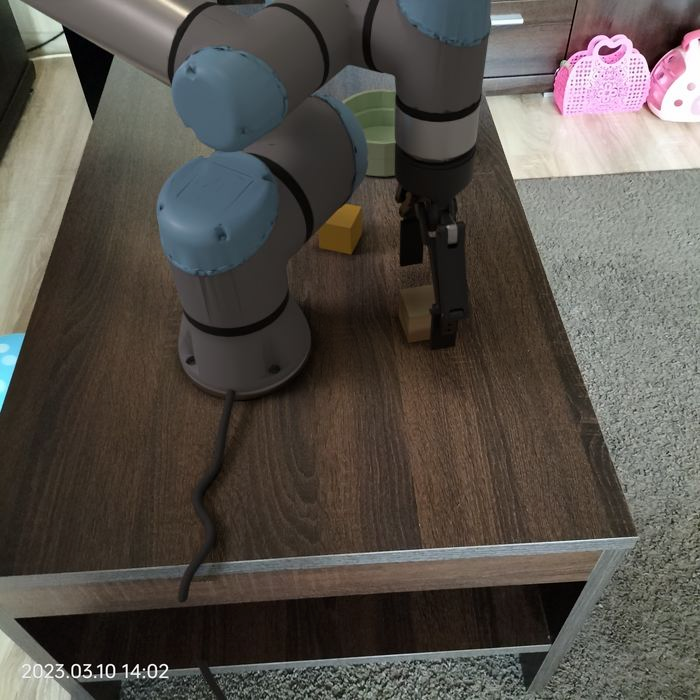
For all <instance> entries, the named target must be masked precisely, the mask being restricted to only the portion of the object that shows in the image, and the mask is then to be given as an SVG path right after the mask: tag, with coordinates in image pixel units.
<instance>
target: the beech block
mask: <svg viewBox="0 0 700 700" xmlns="http://www.w3.org/2000/svg"><path fill="white" fill-rule="evenodd" d="M434 303H435V295H434V288H433V283H432V284H427V285H421V286H414V287H407V288H402V289H399V302H398V317H399V318H398V319H399V320H400V324H401V326H402V327H401V328H402V330H403V332H404V336H405V339H406V341H407V344H411V343H416V342H423V341H430V329H431V314H430V312H429V309H430V308H432V304H434Z"/></svg>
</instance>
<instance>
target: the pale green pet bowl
mask: <svg viewBox="0 0 700 700" xmlns="http://www.w3.org/2000/svg"><path fill="white" fill-rule="evenodd" d="M395 96H396V89H389V88H388V89H387V88H379V89H378V88H377V89H370V90H365V91H361V92H358V93H354V94H352V95H350V96H348V97H346V98H345V99H343V100H341V102H342V103H344V104H345V105H346V106H347V107H348V108H349V109H350V110H351V111H352V113H353V114H354V115H355V117H356V118H357V120H358V121H359V123H360V125H361V127H362V129H363V132H364V134H365V137H366V141H367V145H368V157H367V158H368V168H367V172H366V175H365V176H371V177H373V176H374V177H392V176H395V143H396V141H395V134H394V129H395Z"/></svg>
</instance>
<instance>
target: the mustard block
mask: <svg viewBox="0 0 700 700" xmlns="http://www.w3.org/2000/svg"><path fill="white" fill-rule="evenodd" d="M362 208H363V207H362V206H360V205H355V204H351V203H347V204H345V205H344V206H342V207H341V208H340V209H338V210H337V211H336V212H335V213H334V214H333V215H332V216H331V217H330V218H329V219H328V221H327V222H326V223H325V224H324V225H323V226H322V227H321V228H320V229H319V230H318V231H317V233H318V235H317V236H318V246H319V249H323V250H328V251H332V252H337V253H342V254H346V255H350V256H351V255H353V253H354V250H355V249H356V247H357V245H358V242H359V240H360V238H361V237H362V235H363V209H362Z"/></svg>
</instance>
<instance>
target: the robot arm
mask: <svg viewBox="0 0 700 700" xmlns="http://www.w3.org/2000/svg"><path fill="white" fill-rule="evenodd" d="M19 1H20V2H22V3H24V4H25V5H28V6H29V7H31V8H32V9H34V10H35V11H37V12H38V13H39V12H40V13H41V14H42V15H45V16H46V17H48V18H50V19H51V20H53V21H55V22H57V23H58V24H60V25H62V26H63V27H65V28H67V29H68V30H70V31H72V32H74V33H76V34H78V35H79V36H80V37H82V38H83V39H86V40H88V41H89V42H91V43H93V44H95V45H96V46H98V47H99V48H101V49H103V50H104V51H107V52H109V54H112V55H114V56H116V57H117V58H119V59H121V60H122V61H123V62H126V63H127V64H129V65H131V66H132V67H135V68H136V69H138V70H139V71H140V72H143V73H144V74H147V75H148V76H150V77H151V78H153V79H155V80H157V81H159V82H160V83H161V84H164V85H166V86H167V87H169V88H170V89H171V91H170V92H171V98H172V102H173V105H174V108H175V111H176V113H177V115H178V117H179V119H180V120H181V121H180V122H182V124H183V126H184V127H186V128H190V129H192V131H193V132H194V135H195V137H196V140H198V141H199V142H200V143H201V144H203V145H204V146H207V147H208V148H210V149H213V150H214V151H212V152H211V154H210V156H209V157H204V156H203V155H199V156H196V157H194V158H192V159H190V160H189V161H187V162H184V164H182V165H181V166H179V167H178V168H177V169H175V171H173V173H172V174H170V176H168V178H167V179H166V180H165V182H164V184H163V186H162V187H161V190H160V191H159V194H158V197H157V201H156V219H157V223H158V229H159V232H158V233H159V240H160V244H161V245H160V246H161V248H162V251H163V253H164V255H165V256H166V258H167V261H168V264H169V267H170V271H171V275H172V278H173V281H174V285H175V288H176V292H177V296H178V298H179V303H180V305H181V309H182V315H181V321H180V328H179V334H178V340H177V348H178V349H177V350H178V357H179V360H180V363H181V366H182V369H183V372H184V374H185V376H186V377H187V379H188V380H189V381H190V382H191V384H192V385H194V386H195V387H196V388H198V389H199V390H200V391H202V392H204V393H206V394H207V395H210V396H212V397H215V398H220V399H224V404H223V408H222V411H221V416H220V422H219V426H218V431H217V438H216V442H215V443H216V444H215V449H214V452H213V453H214V454H213V458H212V460H211V463H210V466H209V468H208V470H207V472H206V473H205V474H204V475H203V476H202V477H201V479H200V480H199V481H198V483H197V484H196V486H195V488H194V489H193V493H192V496H191V497H192V499H191V500H192V501H191V503H192V506H193V511H194V512H195V513H196V515H197V516H198V518H199V519H200V520H201V522H202V523H203V525H204V527H205V539H204V542H203V545H202V546H201V548H200V550H198V552H197V553H196V555H195V556H194V558H193V559H191V561H190V562H189V564H188V566H187V568H186V569H185V571H184V573H183V574H182V575H183V576H182V578H181V579H180V583H179V588H178V594H177V601H178V603H181V604H183V603H185V602H186V601H188V598H189V591H190V586H191V584H192V580H193V579H194V576H195V574H196V573H197V572H198V569H199V568H200V567H201V565H202V564H203V563H204V562H205V560H206V559H207V558H208V556H209V555H210V553H211V551H212V549H213V547H214V544H215V541H216V537H217V529H216V528H217V527H216V524H215V521H214V520H213V517H211V515H210V514H209V512H208V511H207V509H206V508H205V506H204V504H203V494H204V492H205V489H206V488H207V487H208V486H209V484H210V483H211V482H212V480H213V479H214V478H215V476H216V475H217V473H218V472H219V469H220V467H221V464H222V461H223V457H224V452H225V448H226V442H227V434H228V429H229V424H230V419H231V415H232V411H233V405H234V401H245V400H247V401H248V400H253V399H259V398H264V397H266V396H269V395H271V394H274V393H276V392H278V391H280V390H282V389H283V388H285V387H287V386H289V384H291V383H292V382H293V381H294V380H296V378H297V377H298V376H299V375H300V374H301V373H302V372H303V370H304V369H305V367H306V365H307V363H308V361H309V359H310V355H311V351H312V336H311V335H312V334H311V328H310V326H309V323H308V319H307V318H306V315H305V314H304V312H303V310H302V309H301V307H300V306H299V304H298V303H297V301H296V299H295V298H294V296H293V295H292V293H291V292H290V288H289V287H290V286H289V280H288V279H289V278H288V271H287V266H288V264H289V261H290V260H291V259H292V258H293V257H294V256H295V255H296V254H297V252H298V251H300V249H302V247H303V246H304V245H305V244H306V243H307V242H309V240H310V239H312V237H313V236H314V235H315V234H317V233H318V230H319V229H320V228H321V227H322V226H323V225H324V224H325V223H326V222H327V221H328V219H329V218H330V217H331V216H332V215H333V214H334V213H335V212H336V211H337V210H338V209H340V208H341V207H342V206H344V205H345V204H349V202H350V200H351V199H352V197H353V195H354V193H355V192H356V191H357V189H358V188H359V187H360V186H361V184H362V183H363V182H364V179H365V177H366V176H367V175H366V172H367V168H368V158H367V157H368V145H367V141H366V137H365V134H364V132H363V129H362V127H361V125H360V123H359V121H358V120H357V118H356V117H355V115H354V114H353V113H352V111H351V110H350V109H349V108H348V107H347V106H346V105H345V104H344V103H342V100H340V99H338V98H337V97H335V96H330V97H329V96H328V94H327V93H324V92H317V91H319V90H320V89H321V88H323V87H324V86H325V85H326V84H327V83H329V82H330V81H331V80H332V79H333V78H335V76H337V75H338V74H339V73H340V72H341V71H343V70H344V69H345V68H346V67H348V66H353V67H357V68H360V69H365V70H368V71H372V72H376V73H380V74H386V75H390V76H393V77H394V84H395V87H394V88H395V90H396V96H395V129H394V134H395V141H396V143H395V175H394V178H395V179H396V181H397V186H396V191H395V193H394V194H395V196H394V201H395V202H396V205H397V204H401V205H400V206H399V207H398V216H399V217H400V218H402V219H401V220H400V221H399V257H398V260H399V265H400V268H402V267H409V266H415V265H416V266H417V265H421V264H424V246H425V247H427V250H428V258H429V266H430V273H431V281H432V284H433V288H434V295H435V303H434V304H432V308H430V309H429V312H430V314H431V329H430V339H429V343H428V346H429V349H430V351H433V352H434V351H437V350H443V349H448V348H454V347H456V344H457V335H458V328H459V327H458V325H459V320H460V321H461V320H465V319H468V318H469V317H470V311H469V298H468V282H467V281H468V279H467V264H466V262H467V261H466V247H465V245H466V230H467V226H466V224H465V221H463V220H460V221H457V213H458V203H457V198H456V196H457V195H459V194H460V193H461V192H462V191H464V190H465V189H466V188H467V187H468V186H469V185H470V184H471V182H472V180H473V177H474V171H475V161H476V152H477V145H476V143H477V138H478V128H479V119H480V114H481V113H483V112H485V107H486V105H485V103H484V101H482V96H483V95H482V93H483V83H484V76H485V68H486V60H487V54H488V53H487V52H488V45H489V37H490V35H491V29H492V18H491V15H492V14H491V11H492V0H265V2H264V7H263V8H262V9H260V10H259V11H257V12H255V13H254V14H252V15H250V16H249V17H244V16H242V15H241V14H240V13H239V14H238V13H237V12H235V11H233V10H232V9H230V8H228V7H226V6H223V5H222V4H220V3H218V2H217V1H214V0H19ZM434 232H435V233H434ZM430 233H434V236H430ZM195 662H196V664H197V667H198V669H199V672H200V674H201V675H202V677H203V679H204V681H205V682H206V684H207V686H208V687H209V689H210V691H211V692H212V694H213V695H214V697H215V698H216V699H217V700H228V698H227V696H226V694H225V693H224V692H223V690H222V689H221V687H220V685H219V683H218V682H217V680H216V679H215V676H214V675H213V673H212V670H211V669H210V666H209V664H208V662H207V660H202V659H195Z"/></svg>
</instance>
